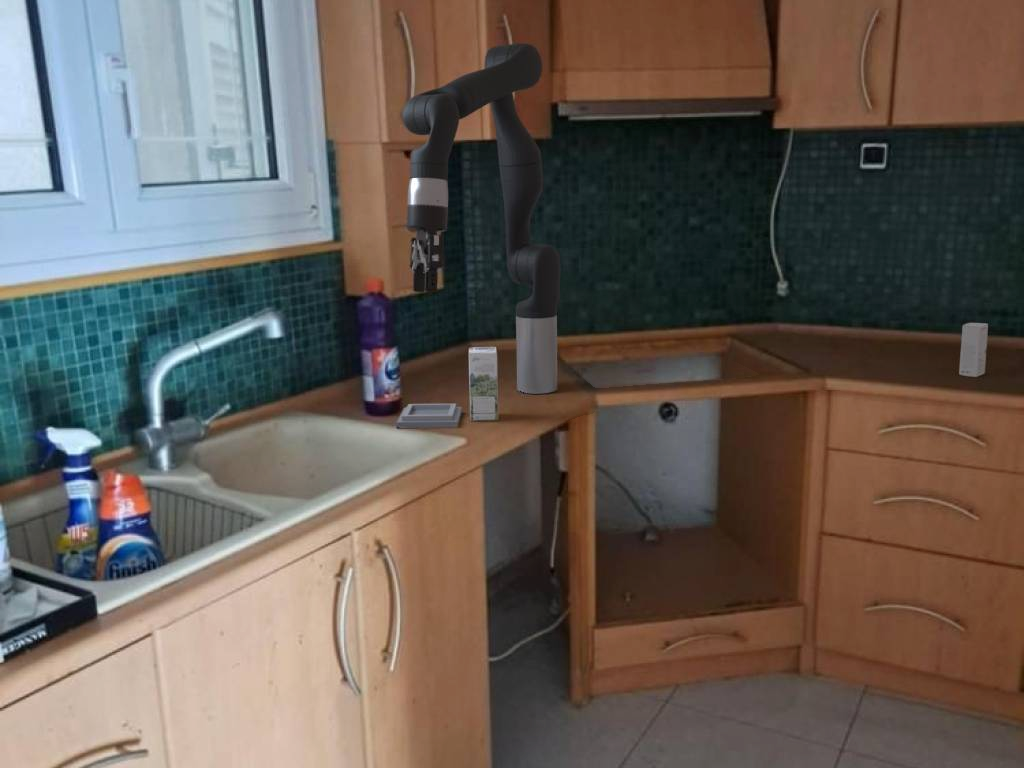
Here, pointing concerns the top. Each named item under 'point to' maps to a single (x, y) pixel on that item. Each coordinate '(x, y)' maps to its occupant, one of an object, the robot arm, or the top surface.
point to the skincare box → (973, 349)
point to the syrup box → (483, 384)
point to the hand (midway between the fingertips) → (424, 292)
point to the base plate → (430, 416)
